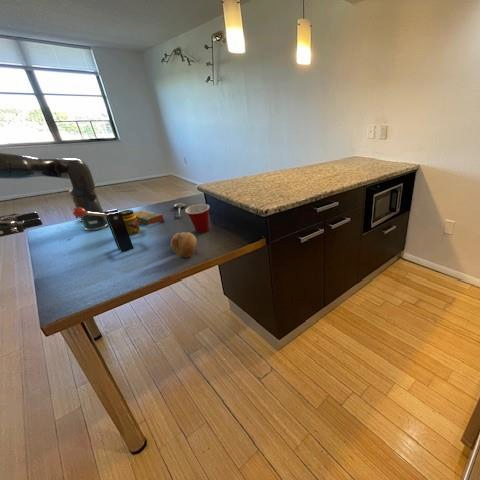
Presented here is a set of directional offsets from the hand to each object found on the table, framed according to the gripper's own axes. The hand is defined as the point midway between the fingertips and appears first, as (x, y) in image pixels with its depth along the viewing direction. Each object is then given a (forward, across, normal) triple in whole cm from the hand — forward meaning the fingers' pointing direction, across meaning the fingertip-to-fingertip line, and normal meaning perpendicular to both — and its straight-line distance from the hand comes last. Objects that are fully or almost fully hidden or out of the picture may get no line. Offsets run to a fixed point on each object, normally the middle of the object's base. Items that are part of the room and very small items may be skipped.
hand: (39, 218), depth 86 cm
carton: (+36, +28, +21) cm, 51 cm away
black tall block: (+19, 0, +21) cm, 28 cm away
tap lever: (+14, 0, +4) cm, 14 cm away
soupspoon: (+54, +31, +21) cm, 66 cm away
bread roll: (+36, -18, +21) cm, 45 cm away
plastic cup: (+50, -4, +21) cm, 55 cm away
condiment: (+26, +15, +21) cm, 37 cm away
